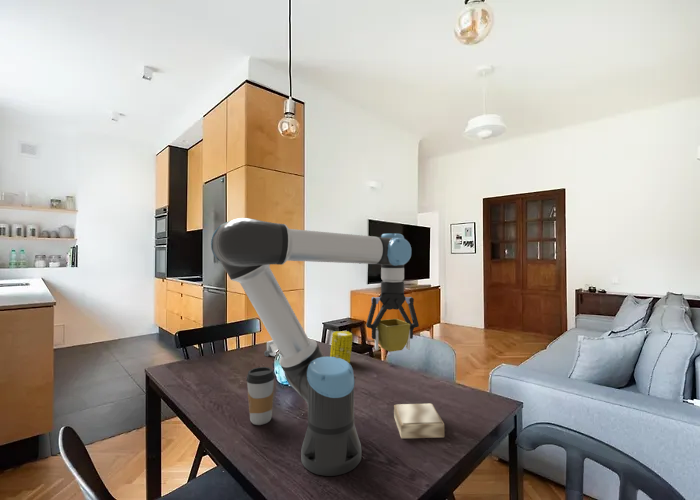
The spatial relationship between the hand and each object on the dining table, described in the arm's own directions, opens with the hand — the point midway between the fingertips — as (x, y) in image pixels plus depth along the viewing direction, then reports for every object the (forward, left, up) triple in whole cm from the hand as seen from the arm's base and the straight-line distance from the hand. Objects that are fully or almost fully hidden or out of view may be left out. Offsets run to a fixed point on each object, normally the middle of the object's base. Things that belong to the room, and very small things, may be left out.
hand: (392, 348), depth 110 cm
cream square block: (+5, -12, -19) cm, 23 cm away
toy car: (-44, +55, -20) cm, 73 cm away
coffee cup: (-42, -6, -19) cm, 46 cm away
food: (-17, +43, -20) cm, 50 cm away
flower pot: (0, 0, 0) cm, 0 cm away
